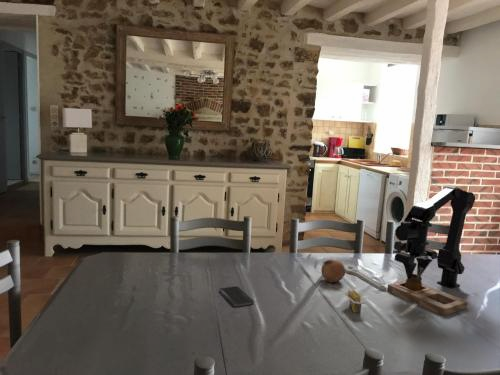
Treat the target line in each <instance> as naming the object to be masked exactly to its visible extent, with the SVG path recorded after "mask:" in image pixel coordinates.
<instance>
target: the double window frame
mask: <svg viewBox="0 0 500 375" xmlns="http://www.w3.org/2000/svg"><path fill="white" fill-rule="evenodd" d="M405 283H406V279H405V280H401V281H397V282H393V283H389V284H387V288H386V290H387V291H388V292H389V293H392V294H394V295H395V296H398V297H401V298H403V299H405V300H407V301H410V302H412V303H413V304H417V305H419V306H420V307H423V308H425V309H428V310H430V311H432V312H435V313H436V314H439V315H441V316H444V317H446V316H447V315H451V314H454V313H458V312H459V311H462V310H465V309H467V308H468V303H469V302H468V301H467V300H464V299H462V298H460V297H457V296H455V295H452V294H449V293H447V292H444V291H441V290H440V289H437V288H434V287H431V286H429V285H426V284H424V283H422V288H421V290H419V291H413V290H410V289H408V288H405ZM444 303H445V304H444Z"/></svg>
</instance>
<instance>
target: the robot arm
mask: <svg viewBox="0 0 500 375" xmlns="http://www.w3.org/2000/svg"><path fill="white" fill-rule="evenodd" d="M475 202H476V196H475V194H474V193H473V192H472V191H468V190H467V191H466V190H463V189H461V188H459V187H457V186H452V185H446V186H444V188H443V189H442V190H441V191H439V192H438V193H436V194H435V195H433V196H432V197H431V198H429V199H428V200H426V201H421V202H417V203H416V204H414V205H413V206H411V209H410V210H409V212H408V213H407V215H406V217H405V218H404V220H403V221H401V222H400V225H398V226H397V227H396V229H395V230H394V233H395V237H396V238H397V240H399V241H394V244H393V248H394V250H396V252H397V253H396V254H394V261H397V262H399V263H400V264H401V263H402V265H403V267H404V270H405V274H406V279H410V278H411V276H412V274H414V271H415V269H416V267H417V269H416V272H417V271H418V269H419V271H418V272H417V273H418V274H417V273H416V275H419V274H420V275H419V276H421V277H422V276H423V274H424V272H425V271H426V269H427V268H428V267H429V265H430V264H431V262H433V260H437V268H438V269H441V270H442V272H441V278H440V280H439V281H437V282H436V283H437V284H439V285H442V286H444V287H447V288H449V289H453V288H456V287H457V288H458V287H460V286H461V284H459V283H457V282H458V277H459V276H458V275H463V274H464V273H465V269H466V268H465V266H464V265H463V263H462V253H461V251H460V243H461V239H462V236H463V235H462V234H463V232H464V231H463V230H464V225H465V221H466V217H467V213H469V212H470V211H471V210H472V209H473V207H474V204H475ZM448 203H450V206H451V209H452V214H451V219H450V224H449V228H448V233H447V237H446V240H445V244H444V246H443V247H442V248H439V249H438V251H436V250H434V249H431V248H427V246H428V245H430V244H429V243H430V242H429V241H427V239H428V232H429V228H431V227H432V226H433V225H432V223H431V221H432V220H433V219H434V218H435V217H436V214H437V213H436V212H437V211H438V210H440V209H441V208H442V207H444V206H445V205H447V204H448ZM404 241H406V242H404ZM430 258H431V259H430ZM415 260H416V261H417V263H416V262H415ZM420 267H421V268H420ZM422 269H424V270H422ZM422 271H423V272H422ZM419 272H420V273H419Z"/></svg>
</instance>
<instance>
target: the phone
mask: <svg viewBox="0 0 500 375" xmlns="http://www.w3.org/2000/svg"><path fill="white" fill-rule="evenodd" d="M220 292H221V293H220ZM219 293H220V294H221V295H222V296H223V297H224V298H225V299H226V300H227V302H228V303H229V304H230V305H231V306H232V307H234V308H238V307H246V306H252V305H254V302H255V301H254V300H253V299H252V298H251V297H250V296H249V295H248V294H247V293H246V292H245V291H244V290H242V288H241V287H240V286H228V287H221V288H219Z"/></svg>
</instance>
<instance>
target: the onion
mask: <svg viewBox="0 0 500 375" xmlns="http://www.w3.org/2000/svg"><path fill="white" fill-rule="evenodd" d="M345 267H346V266H345V265H344V264H343V262H341V261H340V260H336V259H328V260H325V261H324V262H323V264H322V265H321V275H322V277H323V279H324V280H325V281H326V282H329V283H335V282H336V283H337V282H341V281H342V280H343V278H344V276H345V275H346V272H345Z"/></svg>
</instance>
